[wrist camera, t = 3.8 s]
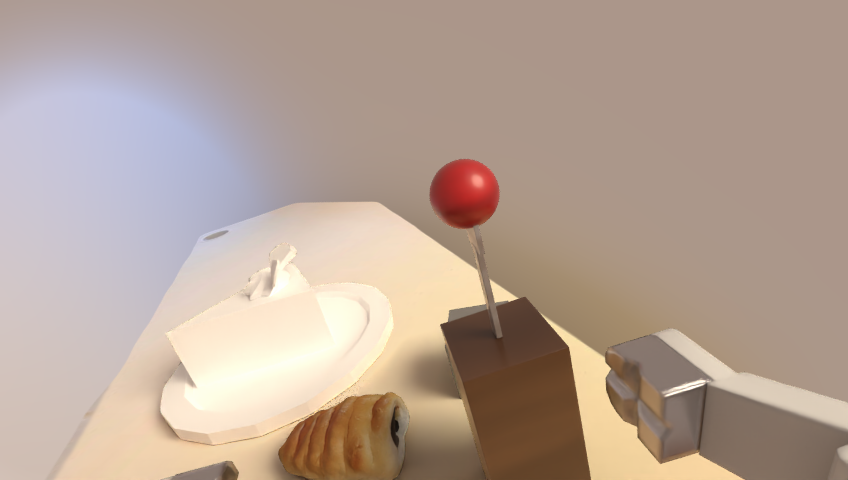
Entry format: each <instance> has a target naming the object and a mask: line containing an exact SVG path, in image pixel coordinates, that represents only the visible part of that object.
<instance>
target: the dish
mask: <svg viewBox="0 0 848 480" xmlns="http://www.w3.org/2000/svg"><path fill="white" fill-rule="evenodd" d="M296 254H297V252H296V249H295V248H294V247H293V246H291V245H289V244H287V243H282V244H280V245H278V246H277V247H275V248H274V249H273V250H272V251H271V252H270V254H269V266H270V268H265V269H262V270H260V271H257V273H255V274H254V275H252V276H251V277H250V278H249V284H248V285H247V286H246V287H245V288H244V289H243V290H241V291H239V292H237V293H236V294H234V295H232V296H230V297H229V298H227V299H225V300H223V301H222V302H220V303H218V304H216V305H214V306H213V307H211V308H209V309H207V310H206V311H204V312H202V313H200V314H199V315H197V316H195V317H193V318H191V319H190V320H188V321H186V322H184V323H183V324H181V325H179V326H177V327H176V328H174V329H172V330H170V331H169V332H167V333H165V334H166V335H167V337H168V339H169V341H170V342H171V344H172V346H173V348H174V349H175V351H176V353H177V354H178V356H179V358H180V360H181V361H182V362H181V363H180V364H179V366H178V367H177V368H176V370H175V371H174V373H173V374H172V376H171V377H170V379H169V380H168V382H167V383H166V385H165V386H164V388H163V394H162V400H161V406H160V412H161V414H162V416H163V417H164V419H165V420H166V422H167V423H168V424H169V425H170V427H171V428H172V429H173V430H174V432H175V433H176V434H177V435H178V437H179V438H180V439H182V440H187V441H193V442H199V443H204V444H210V445H218V444H223V443H228V442H234V441H239V440H244V439H249V438H255V437H260V436H263V435H265V434H267V433H270V432H272V431H274V430H276V429H279V428H281V427H283V426H285V425H288V424H290V423H292V422H294V421H297V420H299V419H301V418H304V417H306V416H308V415H310V414H312V413H314V412H315V411H317V410H318V409H319V408H321V407H322V406H324V405H325V404H326V403H328V402H329V401H331V400H332V399H334V398H335V397H336V396H338V395H339V394H341V393H342V392H344V391H345V390H346V389H348V388H349V387H351V386H352V385H353V384H355V383H356V382H357V381H358V379H359V378H360V377H361V376H362V375H363V374H364V373H365V372H366V371H367V369H368V368H369V367H370V366H371V365H372V364H373V363H374V362H375V361H376V360H377V358H378V357H379V356H380V355H381V354H382V353H383V350H384V348H385V346H386V344H387V341H388V339H389V337H390V334H391V332H392V330H393V327H394V325H393V318H392V311H391V306H390V303H389V300H388V298H387V297H386V296H385V295H384V294H382V293H381V292H380V291H379V290H378V289H377V288H375V287H374V286H369V285H364V284H360V283H355V282H347V283H330V284H324V285H319V286H315V287H311V286H310V285H309V284H308V282H307V281H306V280H305V278H304V277H303V276H302V274H301V273H300V272H299V270H298V269H297V267H296V266H295V265H294V263H293V262H290V263H289V264H287V263H288V262H289V261H290V260H291V259H292V258H293V257H294V256H295V255H296Z"/></svg>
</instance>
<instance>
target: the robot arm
mask: <svg viewBox="0 0 848 480" xmlns="http://www.w3.org/2000/svg"><path fill="white" fill-rule="evenodd" d="M605 362H606V363H607V364H608V365H609V367H610V368H611V370H610V372H609V374H608V375H607V377H606V390H607V393H608V396H609V399H610V402H611V404H612V405H613V407H614V409H615V410H616V412H617V413H618V414H619V416H620V417H621V418H622V419H623V421H625V422H627V423H630V424H632V425H634V426H636V427H637V434H638V438H639V440H640V441H641V442H642V443H643V444H644V446H645V447H646V448H647V449H648V450H649V451H650V453H651V454H652V455H653V456H654V457H655V458H656V460H657V461H658V462H659V463H660V464H662V463H665V462H668V461H672V460H675V459H678V458H682V457H685V456H688V455H692V454H695V453H698V452H699V455H701V456H703V457H704V458H706V459H708V460H710V461H712V462H714V463H715V464H717V465H719V466H721V467H723V468H725V469H726V470H728V471H730V472H732V473H734V474H736V475H737V476H739V477H741V478H743V479H745V480H848V403H847V402H844V401H840V400H837V399H834V398H830V397H827V396H824V395H820V394H817V393H814V392H810V391H807V390H804V389H800V388H797V387H794V386H790V385H787V384H783V383H780V382H776V381H773V380H770V379H767V378H763V377H760V376H757V375H753V374H750V373H746V372H742V373H739V374H737V373H736V372H734V371H733V370H732V369H730V368H729V367H728V366H726V365H725V364H723V363H722V362H720V361H719V360H718V359H717V358H715V357H714V356H712V355H711V354H710V353H708V352H707V351H705V350H704V349H703V348H702V347H700V346H699V345H697V344H696V343H695V342H693V341H692V340H690V339H689V338H688V337H686V336H685V335H684V334H682V333H681V332H680V331H678V330H676V329H672V328H669V329H666V330H663V331H659V332H656V333H653V334H650V335H649V336H644V337H640V338H638V339H634V340H631V341H628V342H624V343H621V344H618V345H615V346H611V347H608V349H607V351H606V356H605ZM238 474H239V472H238V470H237V469H236V467H235V465H234V464H233V462H232V461H225V462H221V463H217V464H214V465H210V466H206V467H202V468H199V469H195V470H191V471H188V472H184V473H180V474H177V475H175V476H172V477H168V478H164V479H160V480H237V478H238Z"/></svg>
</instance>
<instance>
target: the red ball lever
mask: <svg viewBox="0 0 848 480" xmlns="http://www.w3.org/2000/svg"><path fill="white" fill-rule="evenodd" d="M430 201H431V205H432V208H433V210H434V212H435V214H436V215H437V216H438V218H439V219H440V220H442V221H443V222H444V223H446V224H447V225H449V226H451V227H454V228H458V229H466V230H467V234H468V238H469V242H470V243H471V245H472V248H473V252H474V256H475V261H476V265H477V268H478V273H479V277H480V281H481V285H482V289H483V293H484V297H485V302H486V306H487V309H486V310H483V311H480V312H477V313H474V314H471V315H468V316H465V317H462V318H459V319H456V320H452V321H449V322H446V323H443V324H441V325H440V326H441V329H442V333H443V336H444V340H445V343H446V346H447V350H448V353H449V356H450V360H451V363H452V367H453V370H454V373H455V377H456V380H457V383H458V387H459V390H460V394H461V397H462V400H463V404H464V407H465V410H466V414H467V417H468V421H469V424H470V427H471V431H472V434H473V437H474V441H475V444H476V448H477V451H478V454H479V458H480V461H481V464H482V467H483V470H484V473H485V476H486V479H487V480H591V477H590V471H589V465H588V459H587V453H586V447H585V441H584V435H583V429H582V423H581V417H580V411H579V405H578V399H577V393H576V387H575V381H574V375H573V369H572V363H571V357H570V351H569V347H568V345H567V344H566V343H565V342H564V341H563V340H562V339H561V337H560V336H559V335H558V334H557V333H556V332H555V330H554V329H553V328H552V327H551V326H550V325H549V324H548V322H547V321H546V320H545V319H544V318H543V317H542V315H541V314H540V313H539V312H538V311H537V310H536V309H535V307H534V306H533V305H532V304H531V303H530V302H529V300H528V299H527V298H526V297H523V298H520V299H517V300H514V301H510V302H507V303H504V304H501V305H498V306H495V302H494V297H493V293H492V289H491V285H490V280H489V276H488V272H487V268H486V264H485V259H484V255H483V254H485V251H484V246H483V242H482V238H481V233H480V229H479V225H481V224H483V223H485V222H486V221H487V220H488V219H489V218H490V217H491V216H492V215H493V213H494V212H495V210H496V208H497V205H498V202H499V186H498V183H497V180H496V178H495V176H494V174H493V173H492V172H491V171H490V169H489V168H487V167H486V166H485V165H483V164H482V163H480V162H478V161H475V160H470V159H459V160H455V161H452V162H450V163H448V164H446V165H445V166H444V167H442V168H441V169H440V170H439V171H438V172H437V174H436V175H435V177H434V179H433V181H432V183H431V187H430Z"/></svg>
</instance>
